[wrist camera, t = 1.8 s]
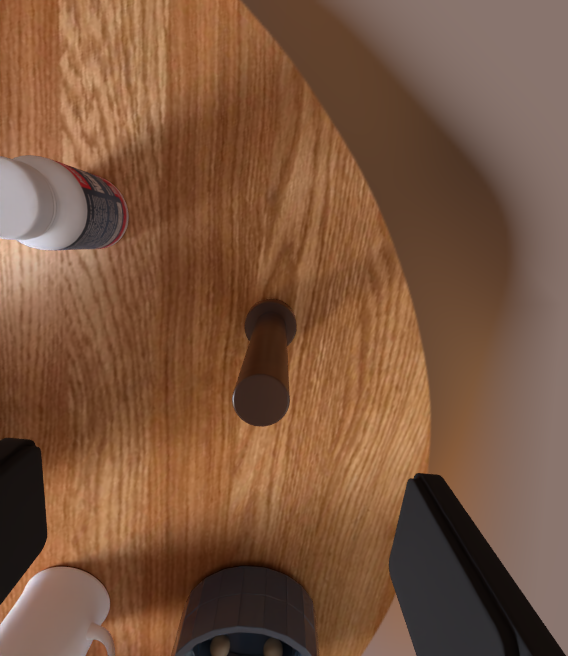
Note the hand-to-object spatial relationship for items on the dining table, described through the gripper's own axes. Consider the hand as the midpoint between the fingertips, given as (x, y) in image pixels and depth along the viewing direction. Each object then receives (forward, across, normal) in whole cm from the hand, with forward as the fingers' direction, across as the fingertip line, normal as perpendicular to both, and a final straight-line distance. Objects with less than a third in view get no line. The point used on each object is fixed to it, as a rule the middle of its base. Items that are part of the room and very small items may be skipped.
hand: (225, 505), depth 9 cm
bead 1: (+18, +1, +34) cm, 38 cm away
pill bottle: (+20, +13, -7) cm, 25 cm away
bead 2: (+18, -4, +34) cm, 38 cm away
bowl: (+20, -2, +31) cm, 37 cm away
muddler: (+20, -1, 0) cm, 20 cm away
